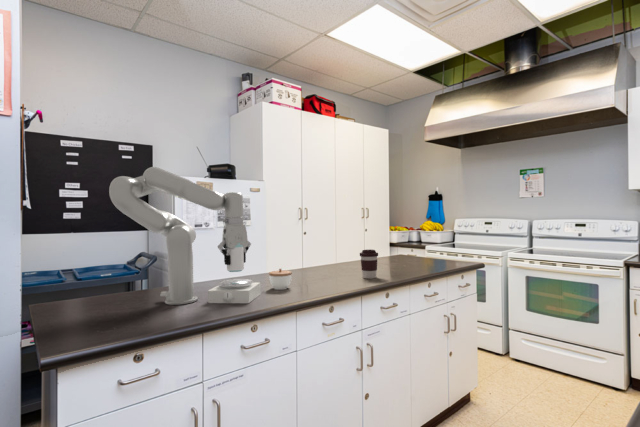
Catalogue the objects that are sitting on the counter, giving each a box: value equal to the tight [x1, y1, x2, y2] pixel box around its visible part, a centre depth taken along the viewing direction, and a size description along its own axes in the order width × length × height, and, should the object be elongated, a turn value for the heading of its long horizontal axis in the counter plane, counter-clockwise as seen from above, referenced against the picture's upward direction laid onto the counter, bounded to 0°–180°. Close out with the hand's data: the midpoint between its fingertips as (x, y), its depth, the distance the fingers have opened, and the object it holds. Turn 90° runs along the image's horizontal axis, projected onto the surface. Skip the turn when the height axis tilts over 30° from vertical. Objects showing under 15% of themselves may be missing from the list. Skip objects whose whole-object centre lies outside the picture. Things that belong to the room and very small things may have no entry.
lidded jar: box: [268, 268, 293, 291], centre depth 167 cm, size 11×11×9 cm
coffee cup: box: [359, 249, 379, 280], centre depth 190 cm, size 10×10×15 cm
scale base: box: [207, 282, 262, 304], centre depth 148 cm, size 17×18×5 cm
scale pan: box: [217, 278, 253, 288], centre depth 149 cm, size 14×14×1 cm
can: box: [226, 243, 245, 273], centre depth 149 cm, size 7×7×12 cm
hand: (235, 263), depth 149 cm, fingers closed on can, 7 cm apart
